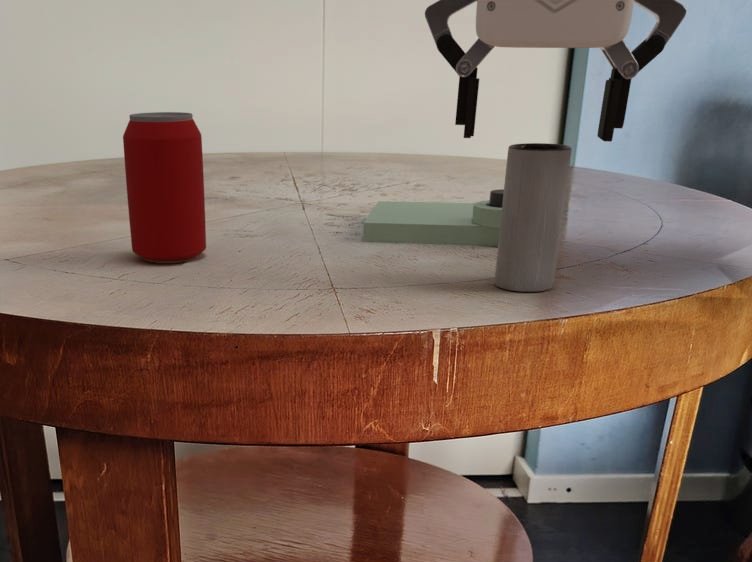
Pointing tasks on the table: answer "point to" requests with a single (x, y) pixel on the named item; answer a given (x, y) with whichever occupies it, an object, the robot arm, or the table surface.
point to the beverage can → (165, 186)
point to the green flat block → (433, 223)
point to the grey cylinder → (532, 216)
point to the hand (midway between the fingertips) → (535, 138)
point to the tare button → (496, 198)
